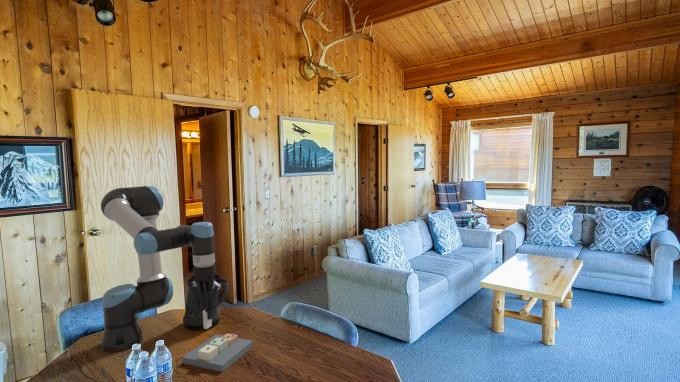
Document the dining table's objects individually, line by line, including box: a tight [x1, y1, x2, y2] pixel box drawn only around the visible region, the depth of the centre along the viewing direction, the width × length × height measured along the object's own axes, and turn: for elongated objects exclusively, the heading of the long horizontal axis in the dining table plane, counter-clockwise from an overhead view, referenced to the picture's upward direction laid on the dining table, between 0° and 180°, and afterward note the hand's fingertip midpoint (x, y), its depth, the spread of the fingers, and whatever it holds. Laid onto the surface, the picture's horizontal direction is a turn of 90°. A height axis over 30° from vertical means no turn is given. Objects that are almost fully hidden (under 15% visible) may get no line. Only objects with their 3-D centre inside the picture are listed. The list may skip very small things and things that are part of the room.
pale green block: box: [209, 337, 228, 353], centre depth 143 cm, size 5×5×4 cm
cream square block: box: [198, 345, 218, 362], centre depth 137 cm, size 5×5×4 cm
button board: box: [181, 333, 254, 373], centre depth 143 cm, size 18×19×2 cm
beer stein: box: [182, 272, 229, 332], centre depth 171 cm, size 16×19×25 cm
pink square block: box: [221, 332, 239, 346], centre depth 148 cm, size 5×5×4 cm
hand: (207, 327), depth 136 cm, fingers closed
